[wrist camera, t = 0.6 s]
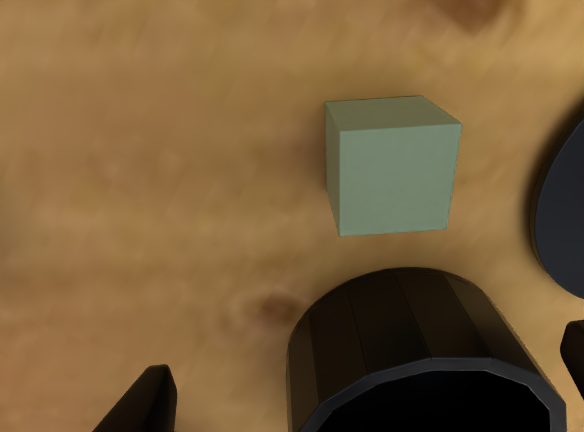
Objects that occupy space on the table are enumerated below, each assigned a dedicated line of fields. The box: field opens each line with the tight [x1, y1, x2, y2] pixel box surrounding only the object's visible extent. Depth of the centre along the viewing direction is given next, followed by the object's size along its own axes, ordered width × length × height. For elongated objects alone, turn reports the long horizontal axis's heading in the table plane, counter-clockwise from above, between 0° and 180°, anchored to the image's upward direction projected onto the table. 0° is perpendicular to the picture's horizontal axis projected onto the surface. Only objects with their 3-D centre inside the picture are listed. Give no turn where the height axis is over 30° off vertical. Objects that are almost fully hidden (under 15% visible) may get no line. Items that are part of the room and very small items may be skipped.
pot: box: [286, 268, 567, 432], centre depth 24 cm, size 14×14×6 cm
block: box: [325, 96, 462, 237], centre depth 18 cm, size 4×4×4 cm
